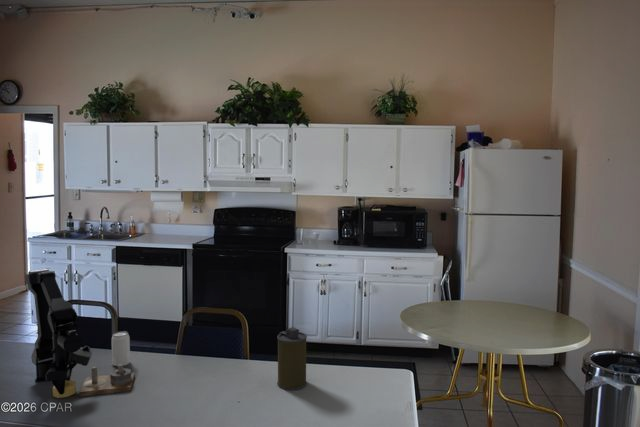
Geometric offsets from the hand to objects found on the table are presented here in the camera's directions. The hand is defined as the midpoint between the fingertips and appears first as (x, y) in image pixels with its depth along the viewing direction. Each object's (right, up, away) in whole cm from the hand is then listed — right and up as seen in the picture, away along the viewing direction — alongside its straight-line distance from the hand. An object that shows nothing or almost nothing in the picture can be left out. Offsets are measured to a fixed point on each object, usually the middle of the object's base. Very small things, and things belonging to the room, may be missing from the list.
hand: (64, 389), depth 158 cm
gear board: (+12, -1, +6) cm, 13 cm away
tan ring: (0, -1, 0) cm, 1 cm away
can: (+8, 0, +26) cm, 27 cm away
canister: (+76, -2, +9) cm, 76 cm away
